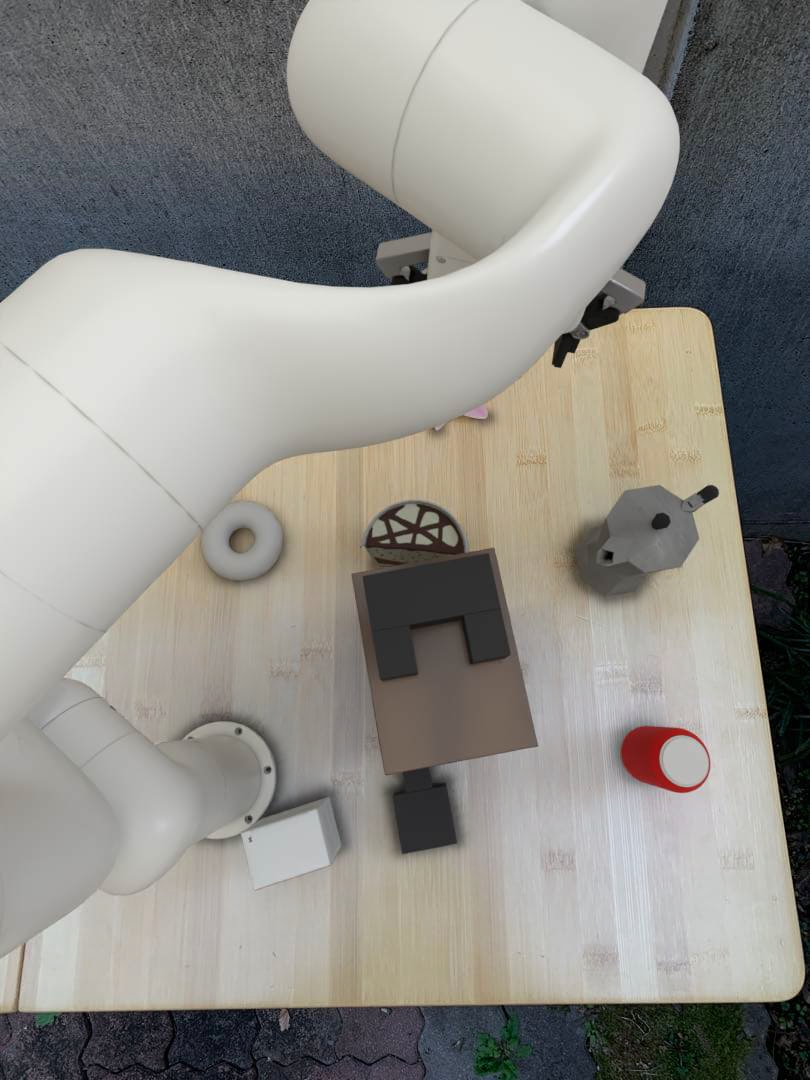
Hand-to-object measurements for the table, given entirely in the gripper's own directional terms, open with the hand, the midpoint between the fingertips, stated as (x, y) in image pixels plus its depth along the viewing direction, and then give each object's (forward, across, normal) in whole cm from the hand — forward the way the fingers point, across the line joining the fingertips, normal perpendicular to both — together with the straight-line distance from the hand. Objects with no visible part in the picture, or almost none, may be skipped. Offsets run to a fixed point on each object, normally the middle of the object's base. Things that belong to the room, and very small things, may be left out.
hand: (494, 340), depth 51 cm
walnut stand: (+36, 0, -23) cm, 42 cm away
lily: (+34, -8, +16) cm, 38 cm away
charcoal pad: (+36, +1, -37) cm, 52 cm away
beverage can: (+36, +25, -28) cm, 52 cm away
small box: (+36, -11, -43) cm, 57 cm away
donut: (+36, -26, -12) cm, 45 cm away
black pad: (+9, -1, -20) cm, 22 cm away
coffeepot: (+36, +20, -5) cm, 41 cm away
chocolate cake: (+36, -4, -8) cm, 37 cm away
